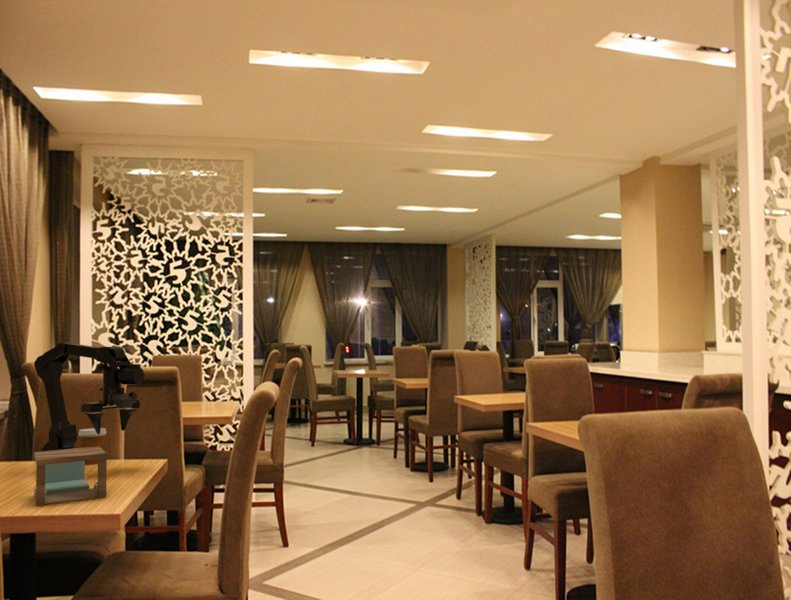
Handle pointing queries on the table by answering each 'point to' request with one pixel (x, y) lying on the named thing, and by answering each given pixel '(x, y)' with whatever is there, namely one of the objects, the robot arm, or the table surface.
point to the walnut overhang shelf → (67, 457)
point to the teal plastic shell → (65, 477)
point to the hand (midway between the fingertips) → (110, 432)
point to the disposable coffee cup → (92, 440)
